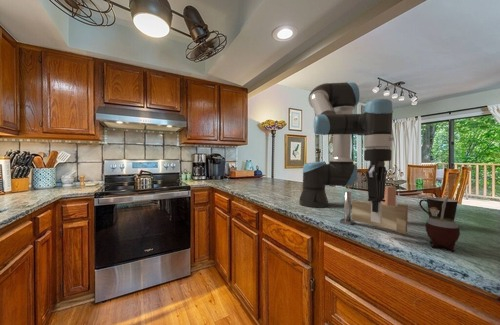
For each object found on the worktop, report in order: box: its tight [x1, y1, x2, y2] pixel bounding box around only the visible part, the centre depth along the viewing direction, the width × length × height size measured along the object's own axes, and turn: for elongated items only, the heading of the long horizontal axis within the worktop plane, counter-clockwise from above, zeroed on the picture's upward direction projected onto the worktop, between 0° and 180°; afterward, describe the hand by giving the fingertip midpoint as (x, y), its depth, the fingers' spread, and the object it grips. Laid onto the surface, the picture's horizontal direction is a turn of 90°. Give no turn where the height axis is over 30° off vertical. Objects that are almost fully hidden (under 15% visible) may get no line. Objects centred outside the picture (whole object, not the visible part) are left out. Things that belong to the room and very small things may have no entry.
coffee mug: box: [418, 196, 458, 221], centre depth 80 cm, size 12×9×10 cm
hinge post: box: [339, 191, 356, 226], centre depth 81 cm, size 4×4×12 cm
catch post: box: [381, 185, 397, 207], centre depth 83 cm, size 4×4×14 cm
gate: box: [351, 199, 409, 235], centre depth 73 cm, size 2×17×9 cm, turn 42°
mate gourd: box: [425, 197, 461, 253], centre depth 58 cm, size 8×8×15 cm
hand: (376, 221), depth 67 cm, fingers closed
